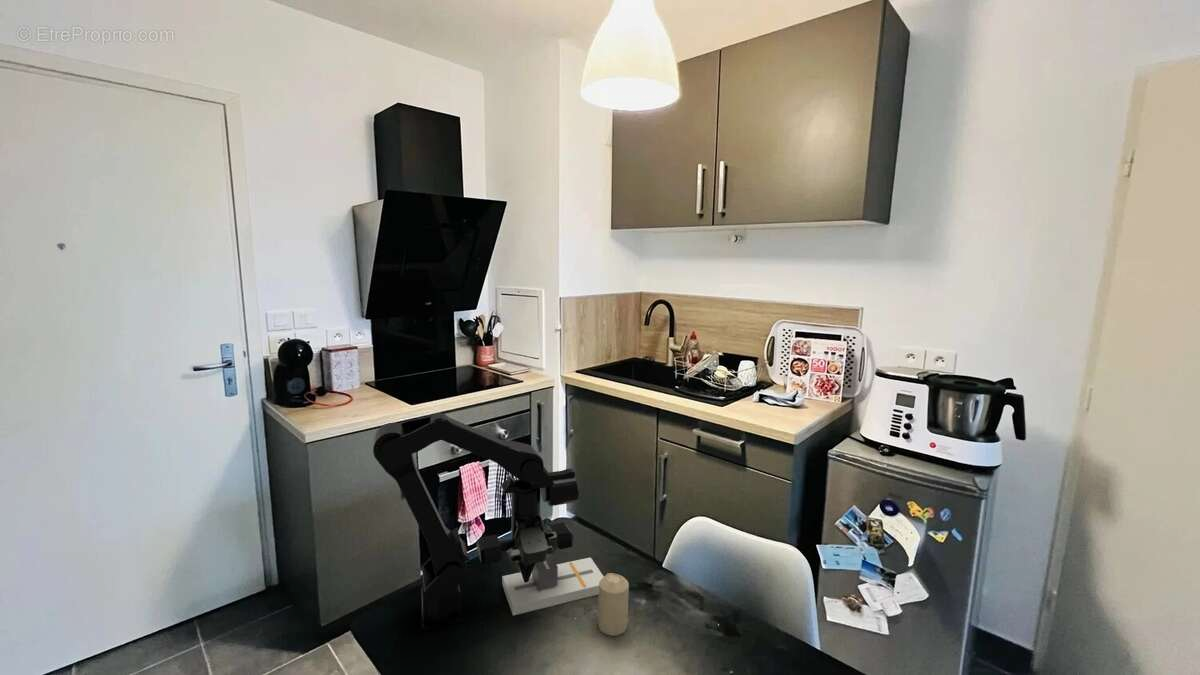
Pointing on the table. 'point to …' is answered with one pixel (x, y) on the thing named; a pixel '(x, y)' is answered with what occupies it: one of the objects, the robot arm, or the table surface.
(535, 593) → the slider track board
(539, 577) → the fader
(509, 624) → the table surface
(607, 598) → the candle
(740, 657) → the table surface
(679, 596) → the table surface
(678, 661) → the table surface
